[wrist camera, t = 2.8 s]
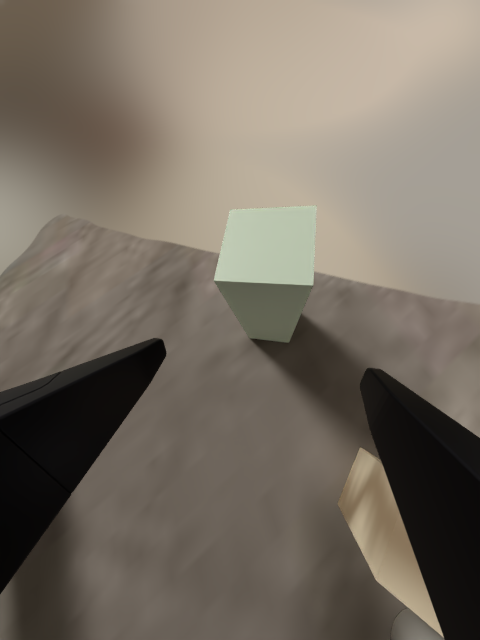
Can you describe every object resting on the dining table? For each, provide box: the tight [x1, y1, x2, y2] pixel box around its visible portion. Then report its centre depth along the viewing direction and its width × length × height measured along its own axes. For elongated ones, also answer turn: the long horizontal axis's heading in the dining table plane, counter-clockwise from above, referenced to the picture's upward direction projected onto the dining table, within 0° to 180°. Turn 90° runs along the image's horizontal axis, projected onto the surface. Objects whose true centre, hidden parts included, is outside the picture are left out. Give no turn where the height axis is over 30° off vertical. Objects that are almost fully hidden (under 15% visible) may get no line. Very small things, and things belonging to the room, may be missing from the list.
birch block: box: [338, 447, 444, 637], centre depth 12 cm, size 5×5×6 cm
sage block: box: [214, 206, 317, 343], centre depth 15 cm, size 5×5×13 cm
